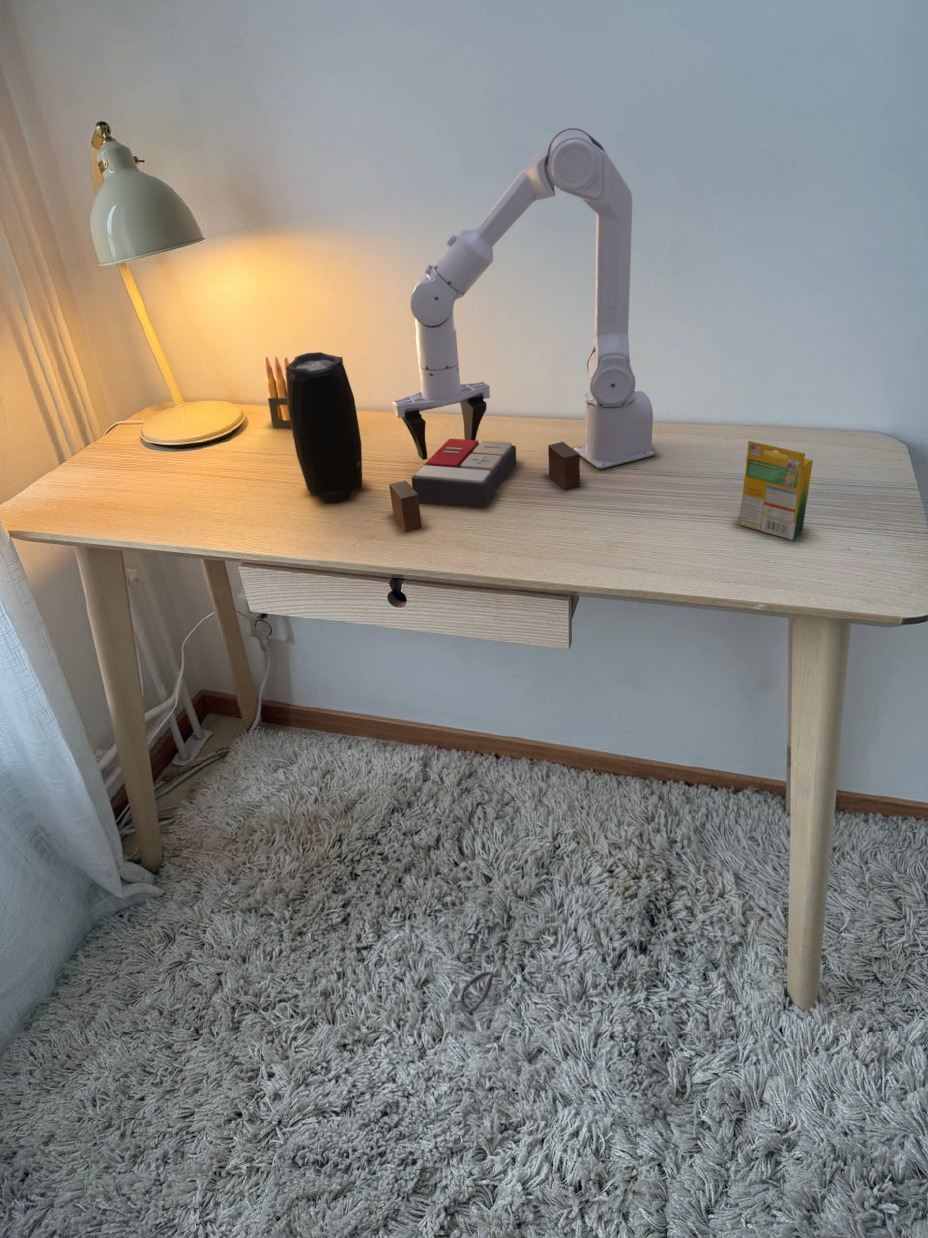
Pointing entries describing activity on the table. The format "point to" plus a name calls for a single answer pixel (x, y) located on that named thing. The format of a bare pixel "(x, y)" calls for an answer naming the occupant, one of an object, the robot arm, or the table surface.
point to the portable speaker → (324, 425)
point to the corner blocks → (560, 470)
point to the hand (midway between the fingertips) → (446, 451)
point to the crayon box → (775, 490)
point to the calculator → (465, 472)
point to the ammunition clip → (277, 393)
